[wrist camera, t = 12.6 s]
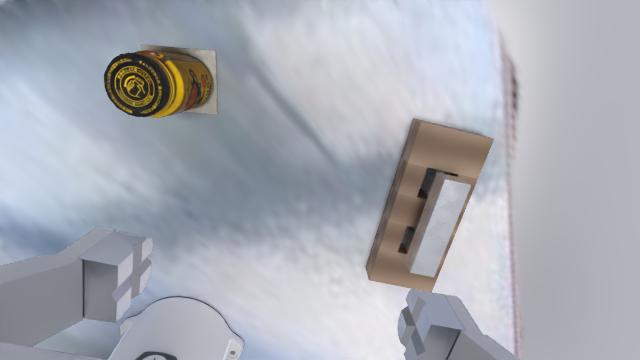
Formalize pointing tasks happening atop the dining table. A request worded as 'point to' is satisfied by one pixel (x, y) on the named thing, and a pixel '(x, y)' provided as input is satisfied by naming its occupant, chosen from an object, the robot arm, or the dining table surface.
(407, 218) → the brown wooden block
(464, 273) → the dining table surface
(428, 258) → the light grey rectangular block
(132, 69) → the condiment
